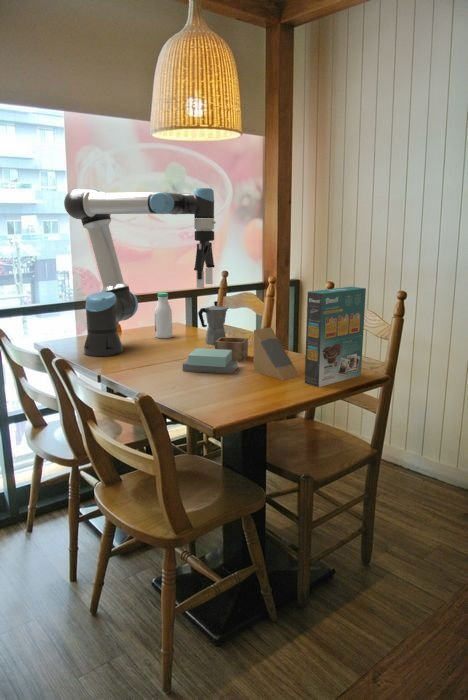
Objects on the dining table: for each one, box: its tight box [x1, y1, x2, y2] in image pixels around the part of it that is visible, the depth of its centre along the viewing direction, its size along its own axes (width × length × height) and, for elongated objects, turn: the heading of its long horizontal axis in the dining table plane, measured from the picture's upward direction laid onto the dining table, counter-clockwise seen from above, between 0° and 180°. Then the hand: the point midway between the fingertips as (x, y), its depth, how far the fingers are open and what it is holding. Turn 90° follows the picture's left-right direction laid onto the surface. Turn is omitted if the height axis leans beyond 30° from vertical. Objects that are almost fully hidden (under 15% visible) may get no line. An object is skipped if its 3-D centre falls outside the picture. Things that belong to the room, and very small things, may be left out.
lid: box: [187, 347, 232, 367], centre depth 200 cm, size 13×11×4 cm
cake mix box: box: [304, 286, 367, 388], centre depth 185 cm, size 22×6×30 cm, turn 130°
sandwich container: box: [253, 327, 301, 381], centre depth 194 cm, size 9×15×15 cm, turn 40°
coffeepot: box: [197, 300, 230, 346], centre depth 242 cm, size 15×9×18 cm, turn 126°
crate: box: [214, 336, 249, 362], centre depth 217 cm, size 11×9×7 cm
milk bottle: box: [154, 292, 173, 339], centre depth 253 cm, size 8×8×20 cm
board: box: [182, 359, 239, 375], centre depth 201 cm, size 18×9×2 cm, turn 79°
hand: (204, 286), depth 219 cm, fingers open, 13 cm apart
